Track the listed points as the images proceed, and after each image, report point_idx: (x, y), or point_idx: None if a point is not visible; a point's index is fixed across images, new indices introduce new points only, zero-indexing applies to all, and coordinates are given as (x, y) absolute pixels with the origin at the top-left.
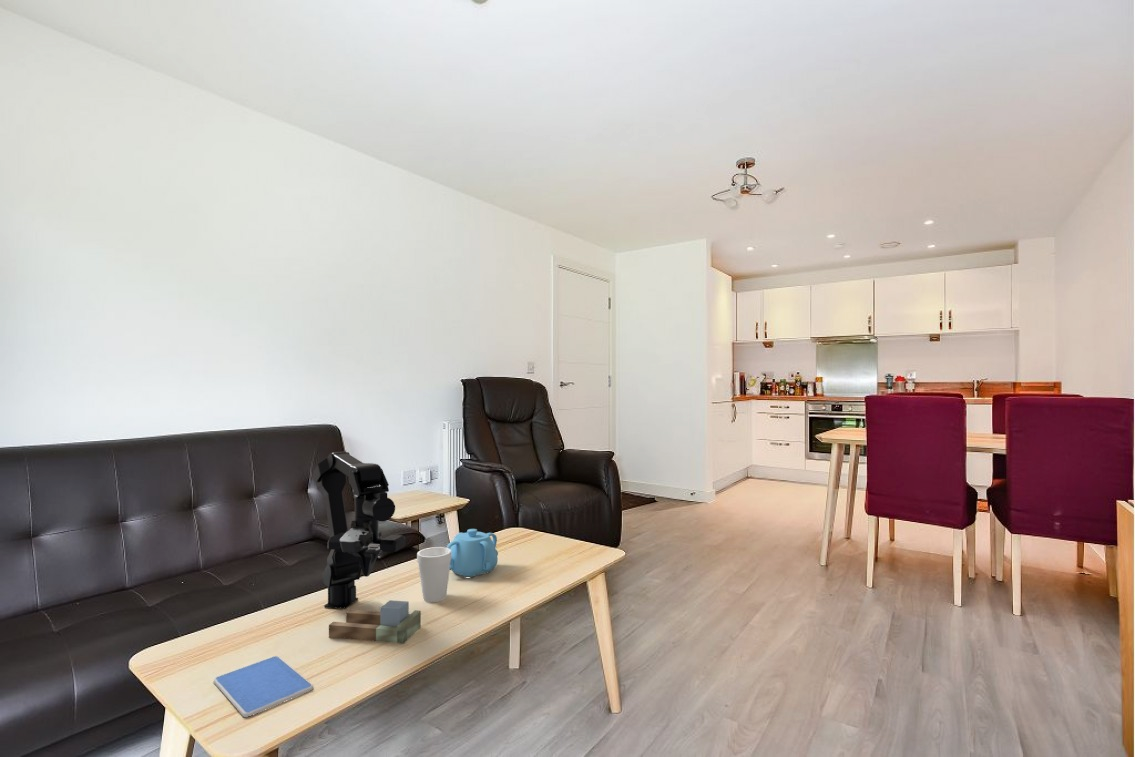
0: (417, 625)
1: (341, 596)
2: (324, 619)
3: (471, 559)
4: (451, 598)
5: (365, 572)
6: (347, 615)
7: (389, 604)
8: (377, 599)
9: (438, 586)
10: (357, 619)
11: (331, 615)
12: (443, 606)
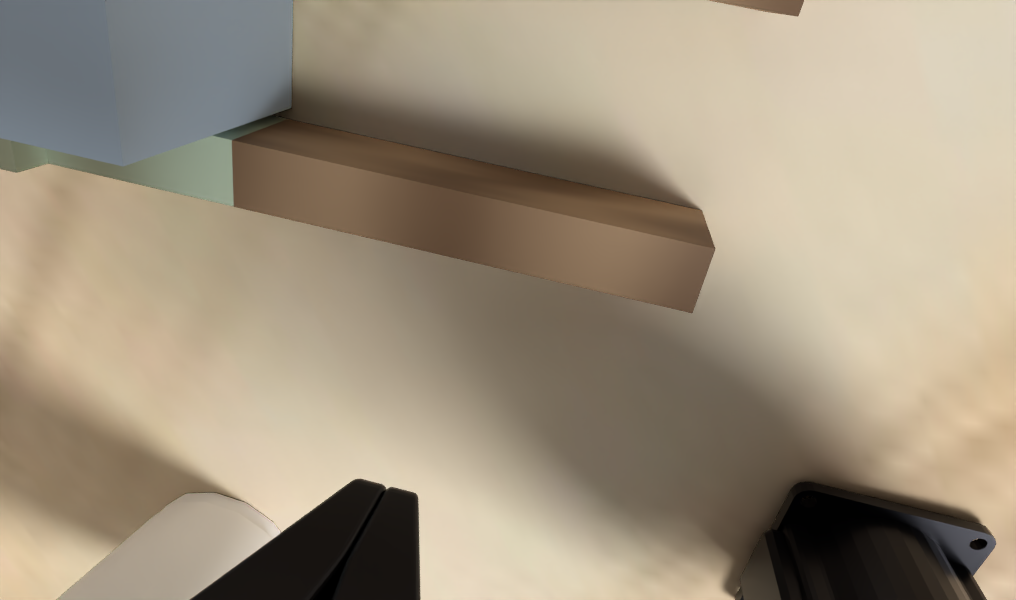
0: None
1: (863, 580)
2: (936, 325)
3: None
4: (125, 524)
5: (353, 538)
6: (696, 234)
7: (45, 21)
8: (593, 586)
9: (93, 571)
10: (590, 201)
11: (887, 391)
12: (110, 429)
